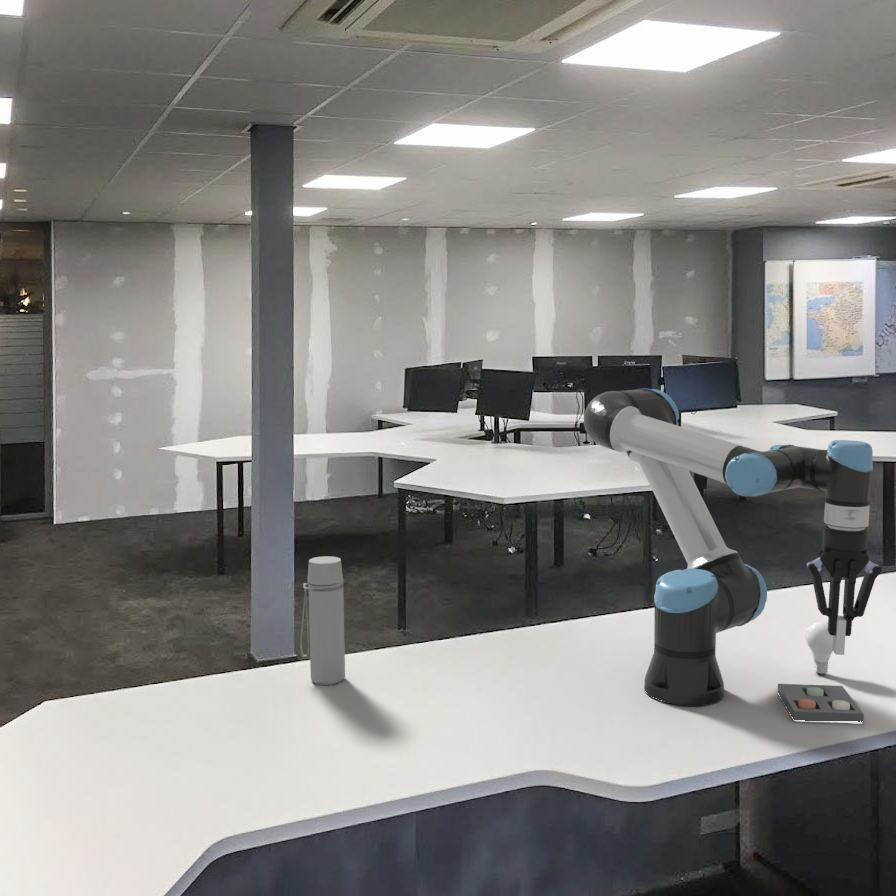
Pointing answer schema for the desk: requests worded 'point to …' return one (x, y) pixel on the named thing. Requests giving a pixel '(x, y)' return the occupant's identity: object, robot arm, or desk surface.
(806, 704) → the rust button
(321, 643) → the water bottle
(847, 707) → the cream button
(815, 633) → the lightbulb
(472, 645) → the desk surface
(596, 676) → the desk surface
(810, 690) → the sage button
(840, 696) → the panel
